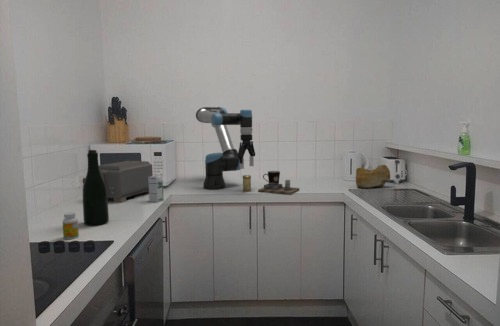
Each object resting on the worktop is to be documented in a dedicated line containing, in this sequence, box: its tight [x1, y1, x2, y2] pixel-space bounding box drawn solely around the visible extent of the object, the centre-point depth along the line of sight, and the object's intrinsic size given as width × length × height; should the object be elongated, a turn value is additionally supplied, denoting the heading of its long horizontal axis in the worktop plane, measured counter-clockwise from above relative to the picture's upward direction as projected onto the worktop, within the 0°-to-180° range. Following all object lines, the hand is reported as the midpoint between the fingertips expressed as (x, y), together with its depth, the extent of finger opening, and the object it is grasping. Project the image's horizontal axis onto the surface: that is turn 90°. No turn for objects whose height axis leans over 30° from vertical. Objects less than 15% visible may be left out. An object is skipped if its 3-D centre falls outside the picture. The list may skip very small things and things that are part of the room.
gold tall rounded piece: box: [242, 174, 252, 193], centre depth 237 cm, size 5×5×10 cm
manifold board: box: [257, 179, 300, 196], centre depth 236 cm, size 22×16×8 cm
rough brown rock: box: [355, 164, 391, 189], centre depth 249 cm, size 23×17×15 cm
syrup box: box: [148, 174, 165, 203], centre depth 209 cm, size 6×6×14 cm
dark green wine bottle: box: [82, 149, 110, 226], centre depth 164 cm, size 10×10×33 cm
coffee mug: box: [262, 170, 281, 184], centre depth 255 cm, size 12×9×10 cm
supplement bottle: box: [62, 211, 80, 240], centre depth 145 cm, size 5×5×10 cm
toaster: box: [99, 160, 154, 204], centre depth 221 cm, size 19×35×20 cm, turn 159°
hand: (246, 167), depth 235 cm, fingers open, 13 cm apart
